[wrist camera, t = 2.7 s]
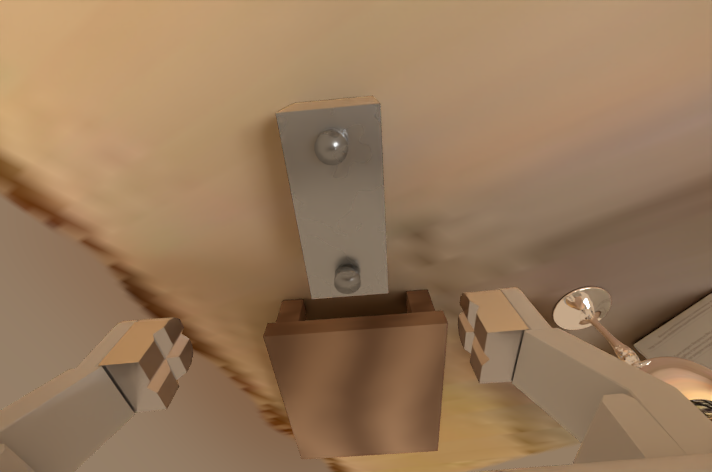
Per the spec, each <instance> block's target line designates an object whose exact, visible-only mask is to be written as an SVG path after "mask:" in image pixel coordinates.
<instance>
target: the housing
mask: <svg viewBox="0 0 712 472" xmlns="http://www.w3.org/2000/svg"><path fill="white" fill-rule="evenodd" d="M276 118H277V123H278V128H279V133H280V138H281V143H282V149H283V154H284V159H285V164H286V169H287V174H288V179H289V185H290V190H291V195H292V200H293V205H294V210H295V215H296V220H297V226H298V231H299V236H300V241H301V246H302V251H303V256H304V262H305V267H306V272H307V277H308V282H309V287H310V292H311V297H312V299H321V298H334V297H347V296H359V295H372V294H385V293H388V271H387V247H386V224H385V200H384V177H383V153H382V130H381V106H380V102H379V101H378V100H377V99H376V98H375V97H374V96H363V97H352V98H342V99H331V100H320V101H309V102H299V103H293V104H291V105H289V106H288V107H286V108H284V109H282V110H280V111H278V112H277V113H276Z"/></svg>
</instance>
